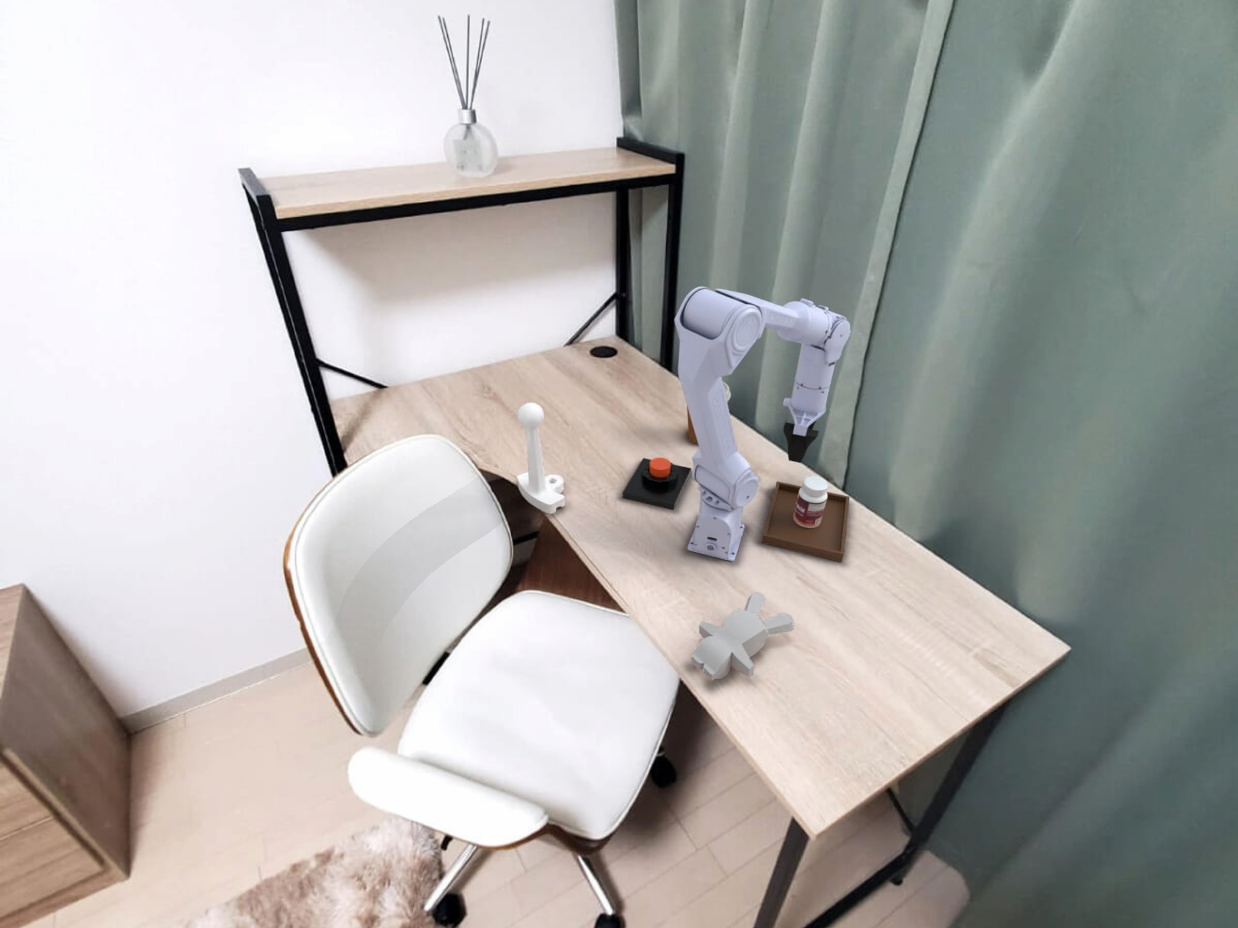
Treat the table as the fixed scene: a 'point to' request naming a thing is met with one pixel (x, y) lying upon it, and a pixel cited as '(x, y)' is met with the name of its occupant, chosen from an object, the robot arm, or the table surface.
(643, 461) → the switch block
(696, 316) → the robot arm
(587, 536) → the table surface
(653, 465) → the power button
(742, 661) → the bunny figurine
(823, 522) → the shallow brown tray
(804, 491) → the pill bottle
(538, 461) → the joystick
